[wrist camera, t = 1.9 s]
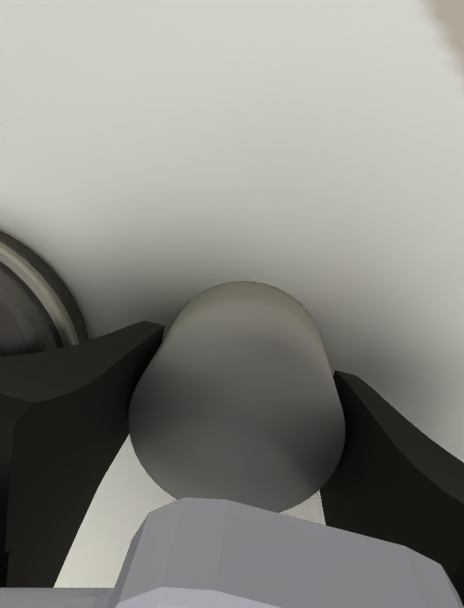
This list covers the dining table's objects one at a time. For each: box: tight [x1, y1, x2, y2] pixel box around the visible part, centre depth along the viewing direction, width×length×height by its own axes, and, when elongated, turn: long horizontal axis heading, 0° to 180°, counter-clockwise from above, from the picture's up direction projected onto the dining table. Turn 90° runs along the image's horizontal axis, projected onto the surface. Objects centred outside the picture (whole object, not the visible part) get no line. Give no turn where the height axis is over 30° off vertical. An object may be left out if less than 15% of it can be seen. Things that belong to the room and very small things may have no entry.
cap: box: [128, 281, 345, 513], centre depth 11 cm, size 5×5×4 cm
